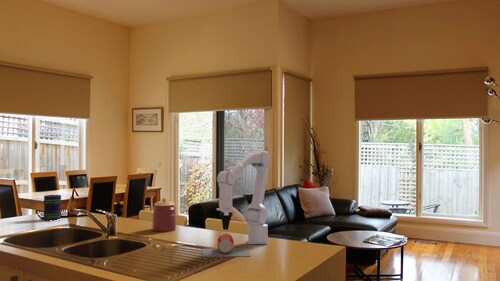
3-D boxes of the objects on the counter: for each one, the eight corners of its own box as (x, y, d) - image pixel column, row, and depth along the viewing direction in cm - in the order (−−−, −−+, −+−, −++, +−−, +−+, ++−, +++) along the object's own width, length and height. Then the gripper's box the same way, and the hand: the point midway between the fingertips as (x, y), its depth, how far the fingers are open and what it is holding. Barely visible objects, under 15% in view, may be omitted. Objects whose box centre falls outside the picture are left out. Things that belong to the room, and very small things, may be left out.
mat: (247, 248, 189) (247, 248, 189) (250, 256, 175) (250, 255, 175) (202, 249, 187) (202, 248, 187) (202, 257, 173) (202, 256, 173)
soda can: (226, 250, 189) (226, 257, 177) (214, 240, 189) (213, 246, 177) (236, 238, 190) (237, 245, 178) (224, 228, 189) (224, 234, 178)
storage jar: (39, 220, 256) (40, 196, 256) (49, 218, 265) (50, 194, 266) (54, 221, 254) (55, 196, 254) (64, 218, 264) (64, 195, 264)
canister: (179, 230, 230) (180, 198, 230) (157, 233, 222) (157, 199, 223) (170, 226, 240) (170, 195, 241) (148, 229, 233) (149, 197, 234)
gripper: (216, 196, 192) (216, 226, 192) (217, 200, 178) (216, 232, 177) (232, 196, 193) (231, 226, 192) (233, 200, 178) (233, 232, 178)
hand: (225, 229), depth 185 cm, fingers closed
